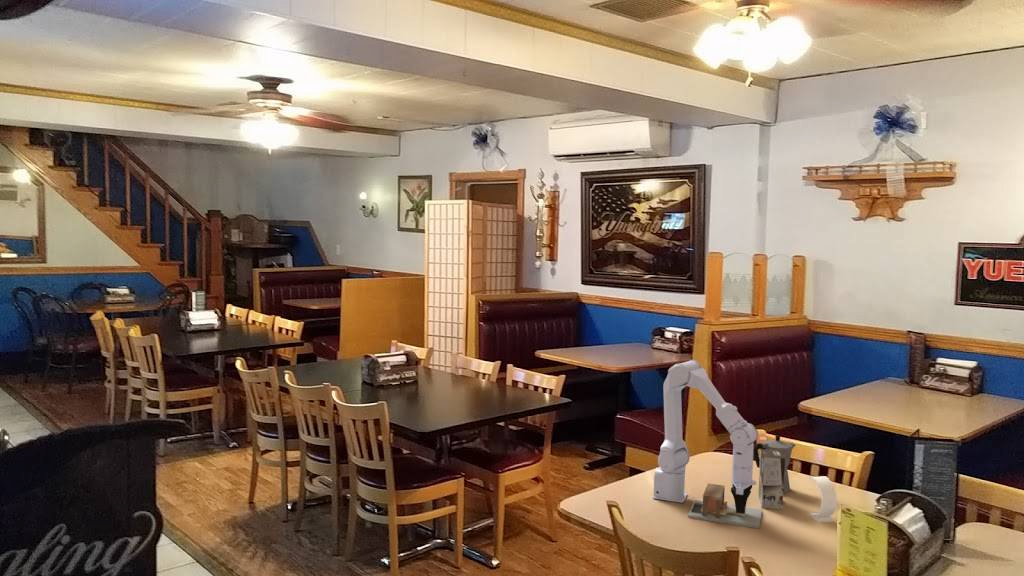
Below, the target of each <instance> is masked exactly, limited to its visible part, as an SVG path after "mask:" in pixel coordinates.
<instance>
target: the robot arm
mask: <svg viewBox="0 0 1024 576" xmlns="http://www.w3.org/2000/svg"><path fill="white" fill-rule="evenodd" d="M686 387H689V388H693V389H698V390H699V391H700V392H701V394H702V395H703V396H704V397H705V398H706V399H707V401H709V402H710V404H711V405H712V407H714V408H715V416H716V417H717V419H719V421H720V422H721V424H722V425H723V426H724V427H725V429H726V430H727V432H728V433H729V434H730V435H729V438H730V441H731V443H732V445H733V447H732V467H731V468H732V469H731V471H732V472H731V478H730V482H731V484H732V485H731V486H732V487H731V488H730V493H731V494H732V497H733V499H734V506H735V507H736V511H737V512H740V513H744V511H745V507H747V502H748V499H749V496H751V493H752V491H751V490H752V489H753V486H756V485H757V481H756V480H754V479H753V469H754V454H753V447H754V446H755V444H754V443H755V441H756V440H757V438H758V432H757V431H758V430H757V429H756V427H755V426H754V424H752V423H750V422H749V423H748V421H747V420H746V419H744V418H743V417H742V416H741V414H740V412H738V407H737V406H736V405H733V404H732V403H729V402H726V401H725V400H724V398H723V397H722V395H721V394H720V392H719V390H717V388H716V387H715V386H714V384H713V383H712V381H711V380H710V378H709V376H708V374H707V370H706V369H705V368H704V367H702V365H701V363H700V362H699V361H697V360H695V359H690V360H687V361H685V362H681V363H675V364H674V365H672V366H671V367H670V368H669V369H668V370H667V376H666V378H665V380H664V382H663V387H662V388H663V419H664V440H663V443H662V444H661V446H660V447H659V448H660V451H659V455H658V458H657V463H658V466H659V467H655V470H654V476H653V496H652V498H653V499H655V500H662V501H669V502H675V503H680V504H681V503H685V499H686V498H687V496H688V493H687V492H685V487H686V485H685V484H686V467H687V466H686V465H688V463H690V458H691V456H690V454H689V450H688V448H687V447H688V446H687V443H686V442H685V441H684V439H683V413H682V412H683V411H682V410H683V408H682V407H683V406H682V404H683V403H682V390H683V389H684V388H686Z"/></svg>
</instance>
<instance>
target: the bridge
mask: <svg viewBox="0 0 1024 576" xmlns="http://www.w3.org/2000/svg"><path fill="white" fill-rule="evenodd" d="M725 487H726V485H722V484H716V483H707V485H706V487H705V490H704V493H703V495H702V501H703V511H702V516H707V502H708V499H714V500H716V518H720V511H721V497H722V494H723V499H722V506H723V505H724V502H725Z"/></svg>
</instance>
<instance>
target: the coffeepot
mask: <svg viewBox="0 0 1024 576" xmlns="http://www.w3.org/2000/svg"><path fill="white" fill-rule="evenodd" d="M774 436H775V439H768V440H764V441H762V442H759V443H756V444H754V447H753V459H754V461H755V465H756V468H758V469H759V467H760V452H759V450H760V449H766V450H767V449H771V450H781V452H782V454H783V455H784V457H785V471H784V489H783V494H788V493H789V492H790V491H791V485H790V478H789V477H790V476H789V472H788V467H789V464H790V460H791V455H792V452H793V449H794V448H795V447H796V446H797V444H796V443H793V442H788V441H783V440H781V435H778V434H776V435H774Z"/></svg>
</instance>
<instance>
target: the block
mask: <svg viewBox="0 0 1024 576" xmlns="http://www.w3.org/2000/svg"><path fill="white" fill-rule="evenodd" d="M722 499H723V494H722V497H721V509H722ZM707 509H708V510H715V511H716V500H714V499H708V502H707Z"/></svg>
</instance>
